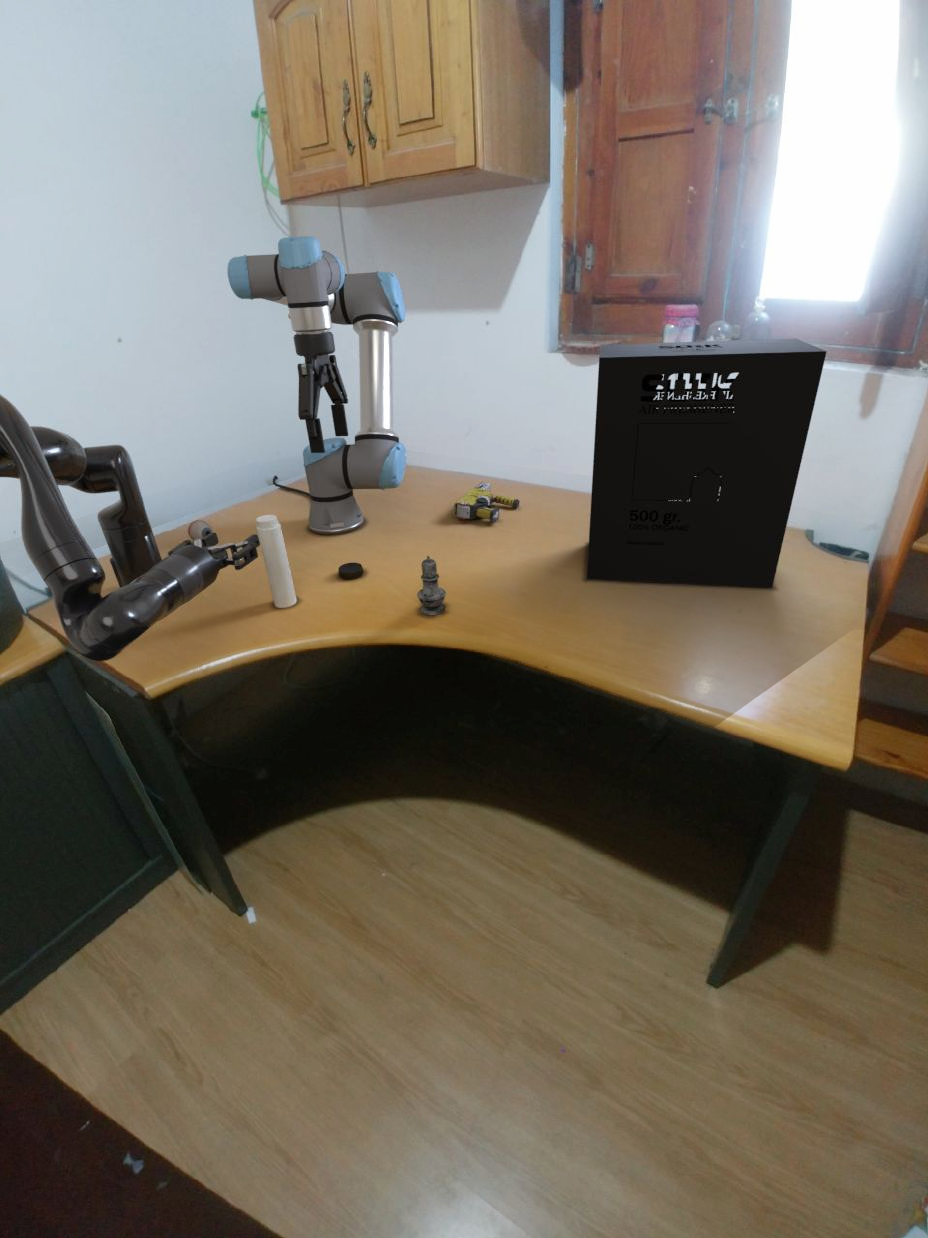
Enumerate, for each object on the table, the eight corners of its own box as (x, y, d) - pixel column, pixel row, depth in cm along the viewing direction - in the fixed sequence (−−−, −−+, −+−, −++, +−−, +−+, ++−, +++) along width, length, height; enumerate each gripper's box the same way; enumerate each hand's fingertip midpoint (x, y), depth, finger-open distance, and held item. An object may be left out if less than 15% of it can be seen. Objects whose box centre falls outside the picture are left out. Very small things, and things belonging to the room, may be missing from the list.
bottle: (287, 595, 133) (268, 512, 124) (301, 600, 131) (283, 516, 121) (269, 604, 130) (249, 519, 120) (284, 610, 127) (264, 523, 118)
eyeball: (201, 547, 160) (195, 526, 157) (186, 543, 163) (180, 522, 160) (220, 539, 164) (214, 518, 161) (205, 536, 167) (199, 515, 164)
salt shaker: (443, 616, 121) (439, 562, 115) (415, 615, 122) (409, 561, 116) (449, 602, 126) (446, 549, 120) (422, 601, 127) (417, 548, 121)
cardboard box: (752, 548, 142) (795, 338, 119) (772, 587, 124) (826, 351, 102) (589, 543, 149) (600, 344, 127) (586, 579, 132) (599, 357, 110)
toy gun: (527, 487, 180) (480, 479, 184) (505, 511, 160) (452, 502, 164) (526, 502, 182) (479, 494, 186) (504, 527, 162) (452, 519, 166)
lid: (350, 582, 137) (349, 574, 137) (334, 576, 141) (332, 569, 140) (368, 572, 141) (367, 565, 140) (351, 567, 144) (350, 560, 143)
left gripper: (214, 557, 94) (266, 520, 108) (136, 553, 97) (196, 517, 111) (226, 599, 98) (275, 558, 112) (151, 594, 101) (207, 554, 115)
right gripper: (319, 326, 127) (335, 429, 137) (264, 339, 106) (288, 460, 116) (353, 325, 125) (366, 429, 136) (304, 337, 104) (325, 460, 115)
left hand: (236, 538), depth 111 cm, fingers open, 8 cm apart
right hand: (330, 443), depth 126 cm, fingers open, 13 cm apart
